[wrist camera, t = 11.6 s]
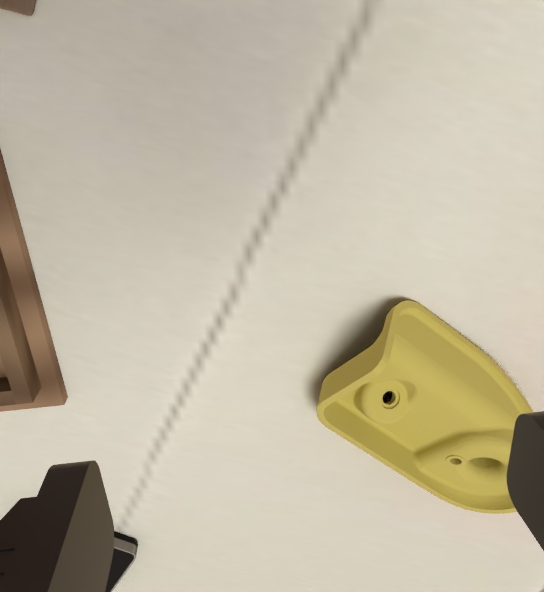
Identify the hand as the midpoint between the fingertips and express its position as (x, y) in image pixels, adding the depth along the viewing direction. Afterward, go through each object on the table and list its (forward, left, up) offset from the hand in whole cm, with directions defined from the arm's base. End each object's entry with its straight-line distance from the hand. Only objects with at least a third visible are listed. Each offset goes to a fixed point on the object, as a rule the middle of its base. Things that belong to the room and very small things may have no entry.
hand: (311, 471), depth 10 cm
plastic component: (+20, +14, -28) cm, 38 cm away
